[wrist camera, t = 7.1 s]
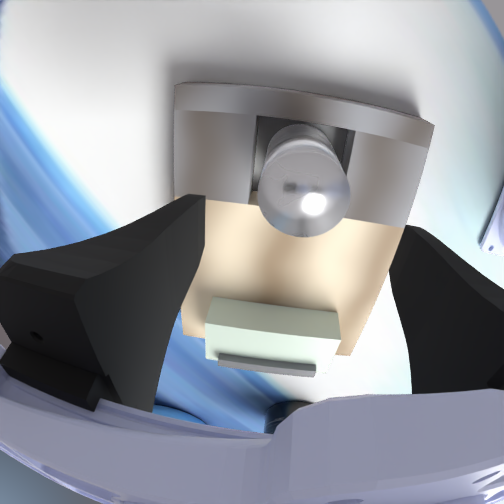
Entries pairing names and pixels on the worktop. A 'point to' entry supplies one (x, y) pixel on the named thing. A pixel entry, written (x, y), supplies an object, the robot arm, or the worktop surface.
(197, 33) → the worktop surface
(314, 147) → the peg
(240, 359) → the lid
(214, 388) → the worktop surface
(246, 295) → the housing
